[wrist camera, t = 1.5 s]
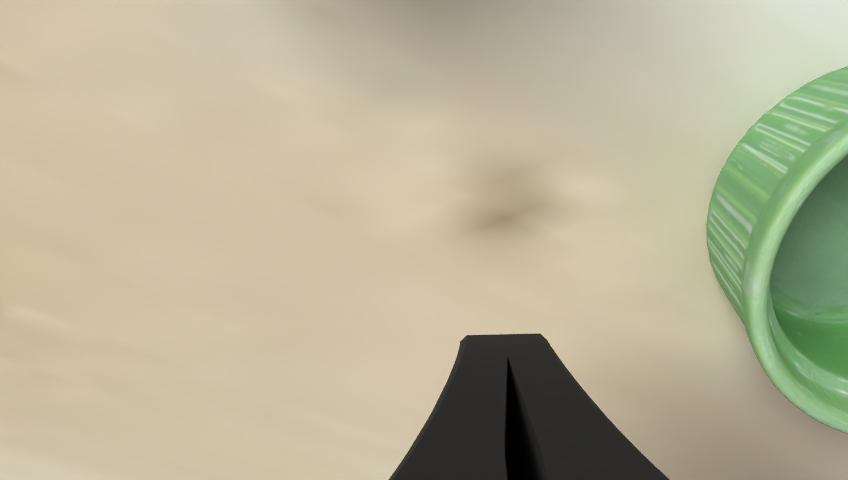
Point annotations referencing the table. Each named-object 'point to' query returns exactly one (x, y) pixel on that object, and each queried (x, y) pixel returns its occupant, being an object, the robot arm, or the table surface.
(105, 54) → the table surface
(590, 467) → the robot arm
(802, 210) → the ramekin
